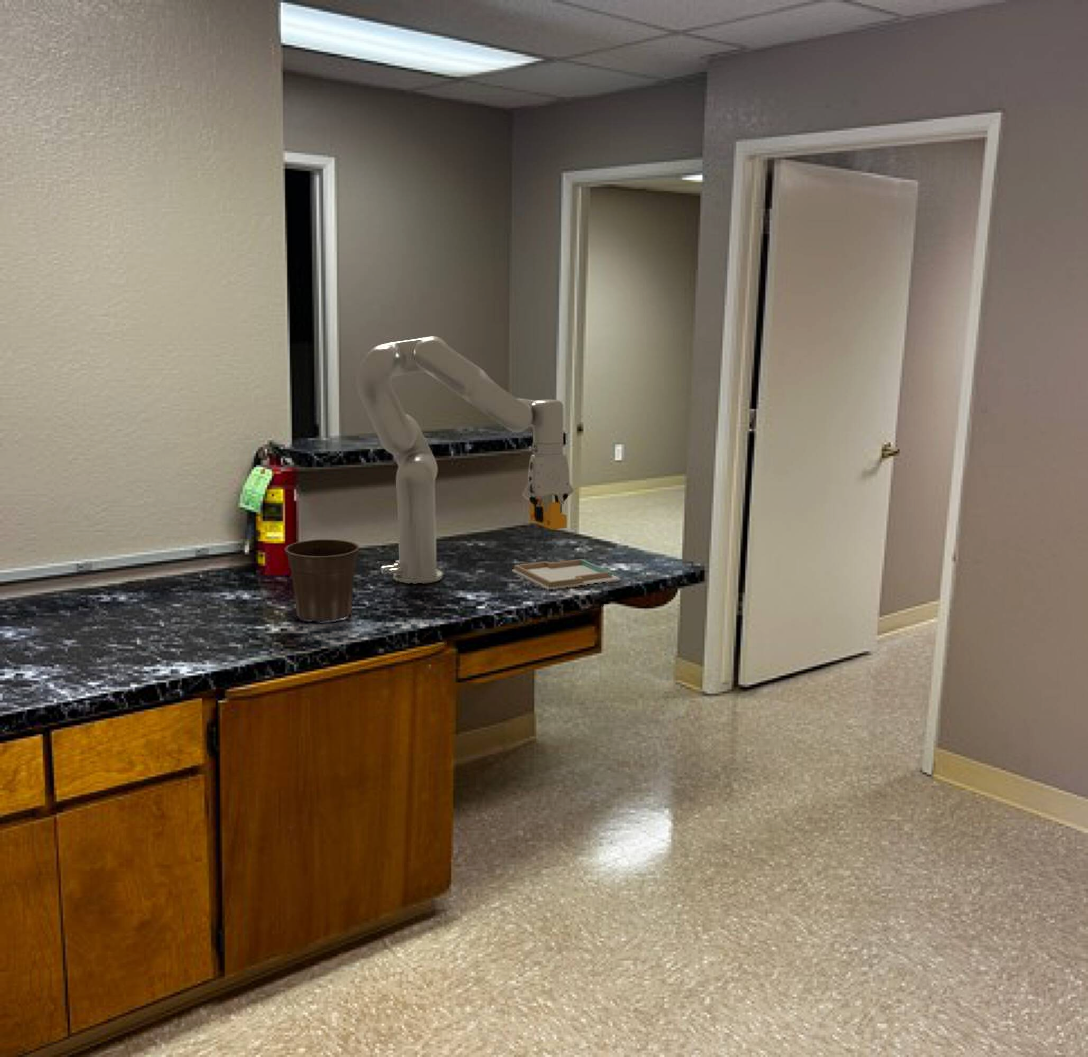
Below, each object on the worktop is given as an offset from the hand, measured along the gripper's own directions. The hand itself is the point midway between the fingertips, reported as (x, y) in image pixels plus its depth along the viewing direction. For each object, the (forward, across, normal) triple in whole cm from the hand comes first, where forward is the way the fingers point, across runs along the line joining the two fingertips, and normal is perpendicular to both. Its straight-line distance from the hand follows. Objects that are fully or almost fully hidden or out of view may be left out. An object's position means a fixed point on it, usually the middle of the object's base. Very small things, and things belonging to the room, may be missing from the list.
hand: (548, 519), depth 274 cm
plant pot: (+15, -61, -7) cm, 63 cm away
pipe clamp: (+1, 0, 0) cm, 1 cm away
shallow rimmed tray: (+15, +5, 0) cm, 16 cm away
